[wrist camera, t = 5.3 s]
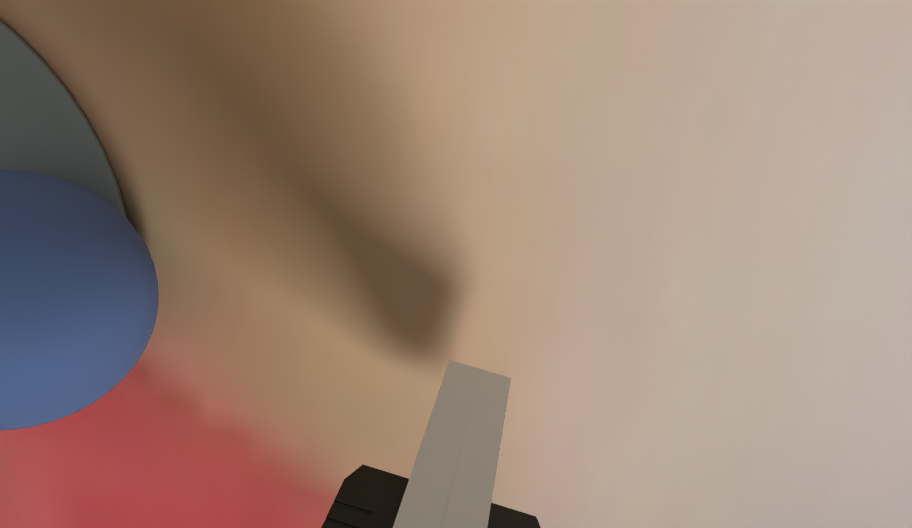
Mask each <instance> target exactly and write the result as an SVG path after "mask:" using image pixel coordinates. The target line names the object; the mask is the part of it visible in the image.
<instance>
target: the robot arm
mask: <svg viewBox="0 0 912 528" xmlns="http://www.w3.org/2000/svg"><path fill="white" fill-rule="evenodd" d="M510 379H511V378H509V377H505V376H502V375H499V374H495V373H492V372H489V371H485V370H482V369H479V368H475V367H472V366H469V365H465V364H462V363H459V362H455V361H452V360H449V363H448V366H447V369H446V372H445V375H444V378H443V381H442V384H441V387H440V390H439V393H438V396H437V399H436V402H435V405H434V408H433V411H432V413H431V416H430V419H429V422H428V425H427V428H426V431H425V434H424V437H423V440H422V443H421V446H420V449H419V452H418V455H417V458H416V461H415V464H414V466H413V469H412V472H411V475H410V478H409V479H408V478H404V477H401V476H398V475H395V474H391V473H388V472H385V471H382V470H379V469H375V468H372V467H369V466H366V465H362V466H361V467H359V468H358V469H357V470H356V471H354V472H353V473H352V474H351V475H349V476H348V477H347V478H346V479H344V481H343V483H342V486H341V488H340V490H339V492H338V494H337V496H336V498H335V500H334V503H333V504H332V506H331V509H330V511H329V513H328V515H327V517H326V520H325V522H324V523H323V525H322V527H321V528H540V525H539V523H538V520H537V518H536V517H535V516H532V515H529V514H526V513H522V512H519V511H516V510H513V509H509V508H506V507H503V506H500V505H497V504H493V503H491V501H492V494H493V488H494V482H495V475H496V469H497V462H498V456H499V450H500V443H501V437H502V430H503V424H504V418H505V411H506V405H507V398H508V392H509V386H510Z"/></svg>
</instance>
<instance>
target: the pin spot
mask: <svg viewBox="0 0 912 528" xmlns="http://www.w3.org/2000/svg"><path fill="white" fill-rule="evenodd" d="M0 170H25V171H31V172H38V173H44V174H47V175H51V176H54V177H58V178H61V179H64V180H67V181H70V182H72V183H75V184H77V185H80V186H82V187H84V188H86V189H88V190H90V191H91V192H93V193H95V194H97V195H99V196H100V197H101V198H103V199H104V200H105V201H107V202H108V203H110V204H111V205H112V206H114V207H115V208H116V209H117V210H118V211H119V212H120V213H121V214H122V215H124V216H125V217H126V218H127V213H126V210H125V206H124V203H123V199H122V196H121V192H120V189H119V185H118V182H117V180H116V177H115V175H114V172H113V170H112V168H111V165H110V163H109V160H108V158H107V155H106V153H105V151H104V149H103V147H102V145H101V143H100V141H99V139H98V138H97V136H96V134H95V132H94V130H93V128H92V126H91V125H90V123H89V121H88V119H87V118H86V116H85V115H84V113H83V112H82V110H81V109H80V107H79V106H78V104H77V103H76V101H75V100H74V98H73V97H72V95H71V94H70V92H69V91H68V89H67V88H66V87H65V86H64V84H63V83H62V82H61V81H60V80H59V78H58V77H57V76H56V75H55V73H54V72H53V71H52V70H51V69H50V67H49V66H48V65H47V64H46V63H45V61H44V60H43V59H42V58H41V57H40V56H39V55H38V54H37V53H36V52H35V51H34V50H33V49H32V48H31V47H30V46H29V45H28V44H27V43H26V42H25V41H24V40H23V39H22V38H21V37H20V36H19V35H18V34H17V33H16V32H15V31H13V30H12V29H11V28H10V27H8V26H7V25H6V24H5V23H3V22H2V21H1V20H0Z"/></svg>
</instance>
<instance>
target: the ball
mask: <svg viewBox="0 0 912 528" xmlns="http://www.w3.org/2000/svg"><path fill="white" fill-rule="evenodd" d="M157 309H158V281H157V276H156V272H155V267H154V264H153V261H152V258H151V256H150V253H149V251H148V248H147V247H146V245H145V243H144V241H143V240H142V238H141V236H140V235H139V233H138V232H137V231H136V229H135V228H134V227H133V226H132V224H131V223H130V222H129V220H128V219H127V218H126V217H125V216H124V215H122V214H121V213H120V212H119V211H118V210H117V209H116V208H115V207H114V206H112V205H111V204H110V203H108V202H107V201H105V200H104V199H103V198H101V197H100V196H99V195H97V194H95V193H93V192H91V191H90V190H88V189H86V188H84V187H82V186H80V185H77V184H75V183H72V182H70V181H67V180H64V179H61V178H58V177H54V176H51V175H47V174H44V173H38V172H31V171H25V170H0V430H13V429H21V428H27V427H33V426H37V425H41V424H44V423H48V422H51V421H55V420H58V419H60V418H63V417H65V416H68V415H70V414H72V413H75V412H77V411H79V410H81V409H83V408H84V407H86V406H88V405H90V404H92V403H93V402H95V401H96V400H98V399H99V398H100V397H102V396H103V395H104V394H106V393H107V392H109V391H110V390H111V389H112V388H113V387H114V386H116V385H117V384H118V383H119V382H120V381H121V380H122V379H123V378H124V377H125V376H126V375H127V373H128V372H129V371H130V370H131V369H132V367H133V366H134V365H135V364H136V362H137V361H138V359H139V357H140V356H141V354H142V353H143V351H144V349H145V348H146V346H147V343H148V341H149V338H150V336H151V334H152V331H153V328H154V325H155V320H156V315H157Z"/></svg>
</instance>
